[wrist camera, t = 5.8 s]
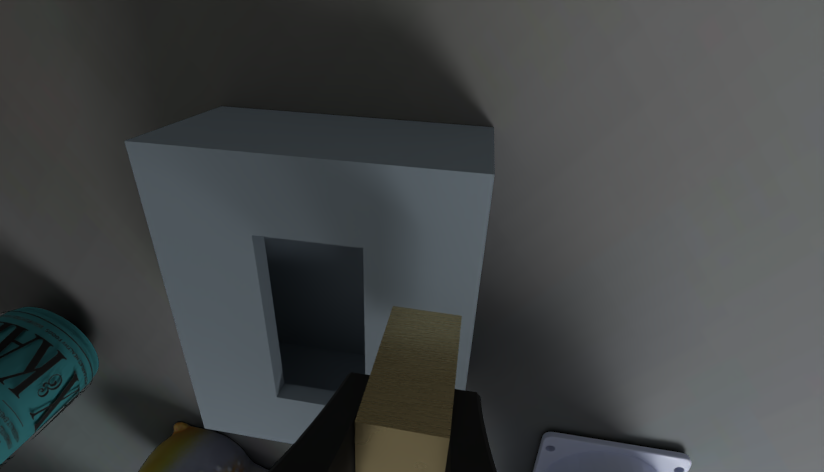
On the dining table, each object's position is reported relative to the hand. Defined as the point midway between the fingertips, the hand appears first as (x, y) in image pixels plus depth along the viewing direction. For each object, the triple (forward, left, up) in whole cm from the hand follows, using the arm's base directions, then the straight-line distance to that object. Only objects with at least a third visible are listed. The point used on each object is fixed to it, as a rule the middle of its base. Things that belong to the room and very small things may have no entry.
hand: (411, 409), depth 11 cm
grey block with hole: (-2, +4, -10) cm, 12 cm away
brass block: (-1, 0, -2) cm, 2 cm away
